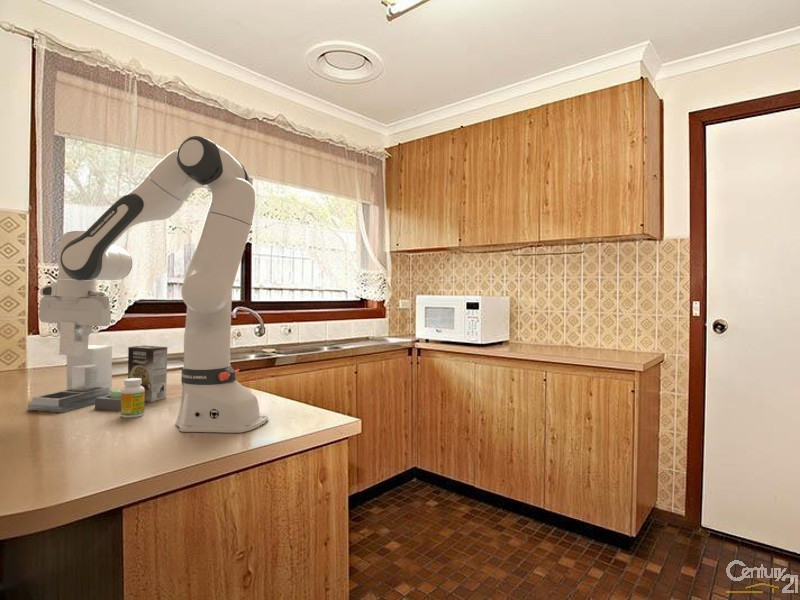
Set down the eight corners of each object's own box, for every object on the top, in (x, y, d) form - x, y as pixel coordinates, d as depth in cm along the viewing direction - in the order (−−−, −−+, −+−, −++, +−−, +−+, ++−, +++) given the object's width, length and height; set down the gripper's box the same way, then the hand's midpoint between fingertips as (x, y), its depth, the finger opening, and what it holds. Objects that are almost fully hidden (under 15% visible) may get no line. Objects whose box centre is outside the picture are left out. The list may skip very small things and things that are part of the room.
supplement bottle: (133, 418, 119) (134, 381, 119) (115, 417, 120) (116, 380, 120) (148, 413, 124) (149, 377, 124) (131, 412, 125) (132, 376, 125)
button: (129, 400, 133) (130, 390, 133) (118, 403, 129) (119, 392, 129) (118, 399, 133) (118, 389, 133) (106, 402, 129) (106, 392, 129)
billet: (87, 353, 127) (89, 321, 127) (73, 355, 122) (74, 322, 122) (74, 352, 128) (75, 320, 128) (59, 354, 123) (60, 321, 123)
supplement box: (112, 390, 151) (113, 345, 151) (91, 396, 142) (92, 348, 142) (87, 389, 152) (88, 344, 152) (65, 395, 143) (65, 347, 143)
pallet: (112, 398, 140) (113, 364, 139) (61, 412, 123) (61, 374, 123) (82, 396, 142) (82, 362, 142) (28, 410, 125) (28, 371, 125)
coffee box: (126, 400, 139) (126, 347, 138) (143, 395, 145) (143, 344, 145) (151, 402, 136) (152, 348, 136) (167, 397, 143) (168, 346, 142)
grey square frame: (141, 403, 134) (141, 393, 134) (119, 410, 126) (119, 399, 126) (117, 402, 136) (117, 392, 136) (94, 408, 128) (94, 398, 128)
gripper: (118, 292, 126) (115, 342, 126) (56, 289, 130) (54, 337, 130) (98, 292, 120) (96, 344, 120) (34, 288, 124) (32, 339, 124)
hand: (74, 341), depth 125 cm, fingers closed on billet, 4 cm apart
